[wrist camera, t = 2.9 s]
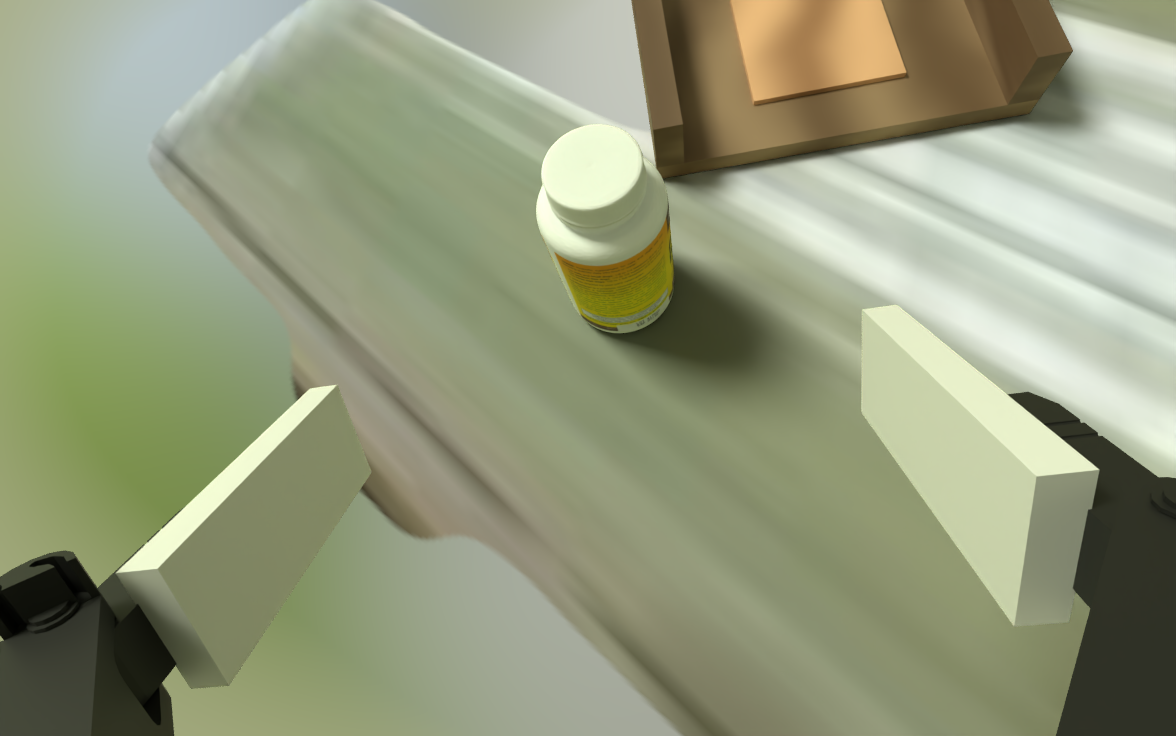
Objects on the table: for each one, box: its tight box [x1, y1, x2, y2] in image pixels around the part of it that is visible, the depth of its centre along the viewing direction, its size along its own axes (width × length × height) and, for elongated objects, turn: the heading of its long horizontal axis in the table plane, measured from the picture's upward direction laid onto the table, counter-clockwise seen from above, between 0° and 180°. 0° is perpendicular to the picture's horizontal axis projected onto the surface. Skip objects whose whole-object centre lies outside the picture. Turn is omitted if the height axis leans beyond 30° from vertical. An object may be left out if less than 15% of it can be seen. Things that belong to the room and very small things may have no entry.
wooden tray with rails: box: [632, 0, 1073, 178], centre depth 34 cm, size 20×14×4 cm
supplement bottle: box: [536, 124, 674, 333], centre depth 28 cm, size 6×6×10 cm
